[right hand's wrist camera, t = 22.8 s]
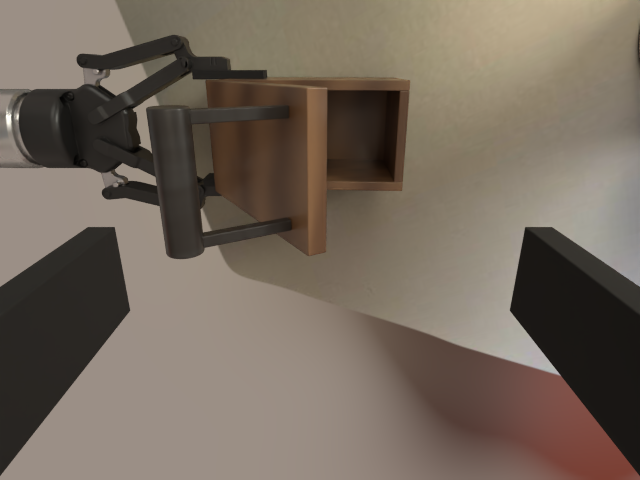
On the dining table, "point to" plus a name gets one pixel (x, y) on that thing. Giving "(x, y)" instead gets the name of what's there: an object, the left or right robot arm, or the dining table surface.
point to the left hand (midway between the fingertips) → (267, 129)
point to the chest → (361, 129)
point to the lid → (245, 164)
